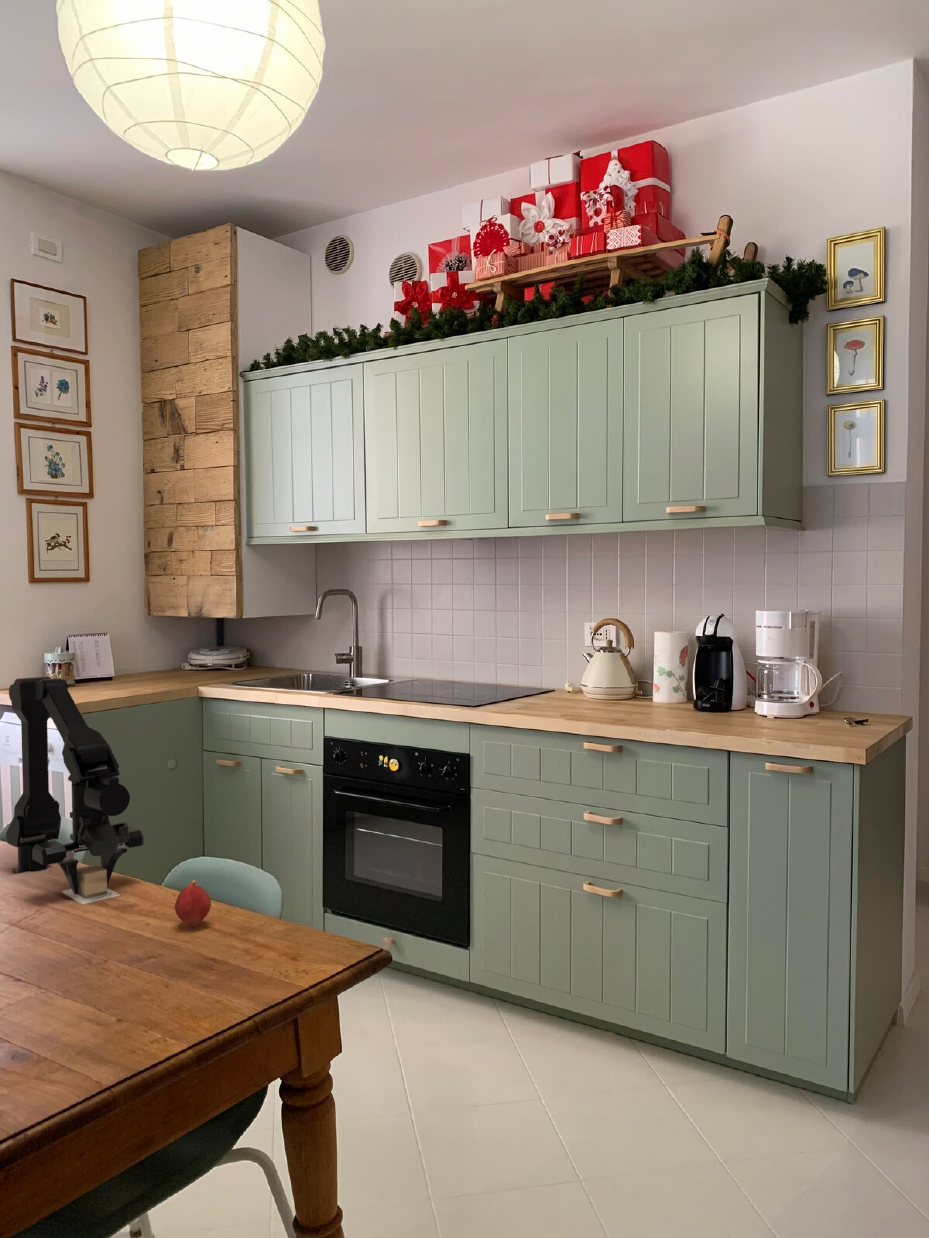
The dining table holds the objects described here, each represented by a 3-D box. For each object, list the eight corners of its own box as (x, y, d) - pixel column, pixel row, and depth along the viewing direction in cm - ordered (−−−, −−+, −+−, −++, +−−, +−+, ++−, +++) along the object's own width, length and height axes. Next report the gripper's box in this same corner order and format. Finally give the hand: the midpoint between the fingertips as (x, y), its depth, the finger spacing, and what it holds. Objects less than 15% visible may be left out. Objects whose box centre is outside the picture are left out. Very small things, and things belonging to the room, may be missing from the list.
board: (61, 896, 175) (61, 891, 175) (98, 887, 180) (98, 882, 180) (82, 909, 168) (82, 903, 168) (120, 900, 173) (120, 894, 173)
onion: (168, 930, 157) (167, 883, 157) (188, 919, 163) (187, 873, 163) (198, 934, 156) (197, 886, 155) (217, 922, 161) (216, 876, 161)
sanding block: (74, 892, 174) (74, 868, 174) (95, 887, 177) (95, 864, 177) (85, 898, 171) (85, 874, 171) (107, 893, 174) (106, 869, 174)
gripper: (53, 824, 161) (55, 913, 162) (156, 805, 174) (158, 888, 175) (30, 813, 169) (32, 898, 170) (130, 796, 182) (131, 875, 183)
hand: (90, 890), depth 174 cm, fingers open, 5 cm apart
